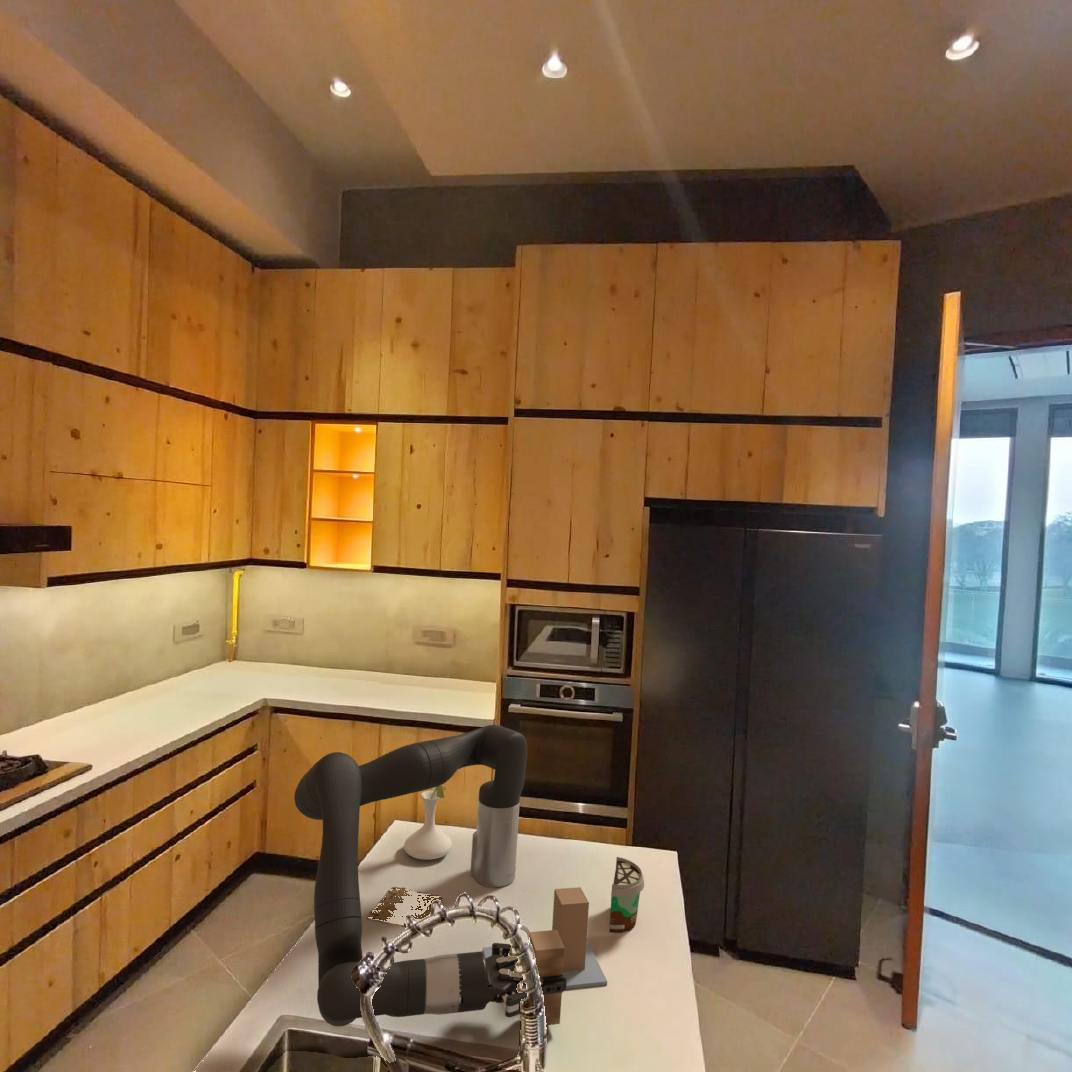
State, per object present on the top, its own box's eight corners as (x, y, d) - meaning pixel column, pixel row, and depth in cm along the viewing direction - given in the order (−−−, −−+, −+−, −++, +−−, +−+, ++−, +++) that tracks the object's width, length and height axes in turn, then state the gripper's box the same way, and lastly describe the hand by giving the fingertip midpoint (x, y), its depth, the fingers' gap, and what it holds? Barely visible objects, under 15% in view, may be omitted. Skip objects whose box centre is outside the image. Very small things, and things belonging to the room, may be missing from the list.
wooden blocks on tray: (493, 996, 109) (498, 922, 109) (482, 950, 121) (486, 883, 121) (607, 984, 114) (611, 912, 114) (586, 941, 125) (590, 876, 125)
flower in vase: (398, 844, 158) (404, 741, 158) (444, 838, 163) (450, 738, 163) (411, 872, 146) (417, 760, 146) (460, 864, 151) (466, 756, 151)
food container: (640, 942, 126) (643, 891, 126) (608, 936, 127) (611, 885, 127) (643, 907, 138) (646, 860, 138) (613, 902, 139) (616, 855, 139)
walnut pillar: (531, 1027, 101) (535, 950, 101) (524, 1005, 106) (529, 932, 105) (559, 1023, 102) (564, 947, 102) (552, 1002, 107) (556, 929, 106)
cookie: (422, 933, 126) (422, 928, 126) (364, 920, 128) (365, 915, 128) (445, 899, 137) (445, 894, 137) (391, 888, 140) (392, 884, 140)
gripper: (448, 975, 107) (548, 964, 111) (458, 1043, 94) (572, 1029, 98) (450, 930, 107) (551, 921, 111) (461, 991, 93) (575, 979, 97)
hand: (560, 971), depth 104 cm, fingers closed on walnut pillar, 4 cm apart
